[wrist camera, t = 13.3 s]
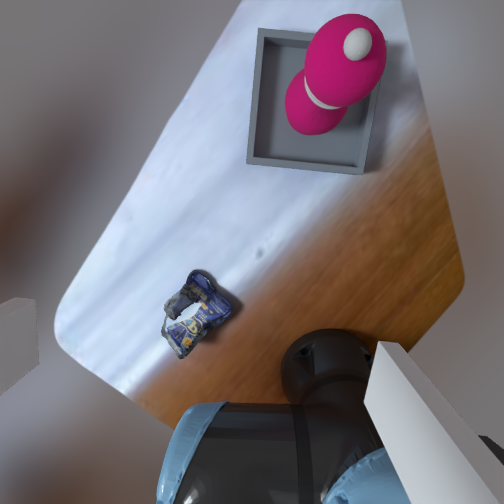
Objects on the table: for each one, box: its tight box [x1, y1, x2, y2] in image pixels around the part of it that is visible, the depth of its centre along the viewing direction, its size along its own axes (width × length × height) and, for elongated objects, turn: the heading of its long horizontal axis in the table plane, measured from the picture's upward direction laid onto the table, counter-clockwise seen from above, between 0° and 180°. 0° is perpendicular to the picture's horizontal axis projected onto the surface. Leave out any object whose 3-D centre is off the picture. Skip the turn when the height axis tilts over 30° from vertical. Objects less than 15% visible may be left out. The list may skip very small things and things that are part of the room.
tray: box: [246, 28, 387, 175], centre depth 37 cm, size 15×15×3 cm
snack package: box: [161, 270, 232, 359], centre depth 44 cm, size 12×6×12 cm
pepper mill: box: [285, 14, 386, 135], centre depth 28 cm, size 7×7×20 cm
